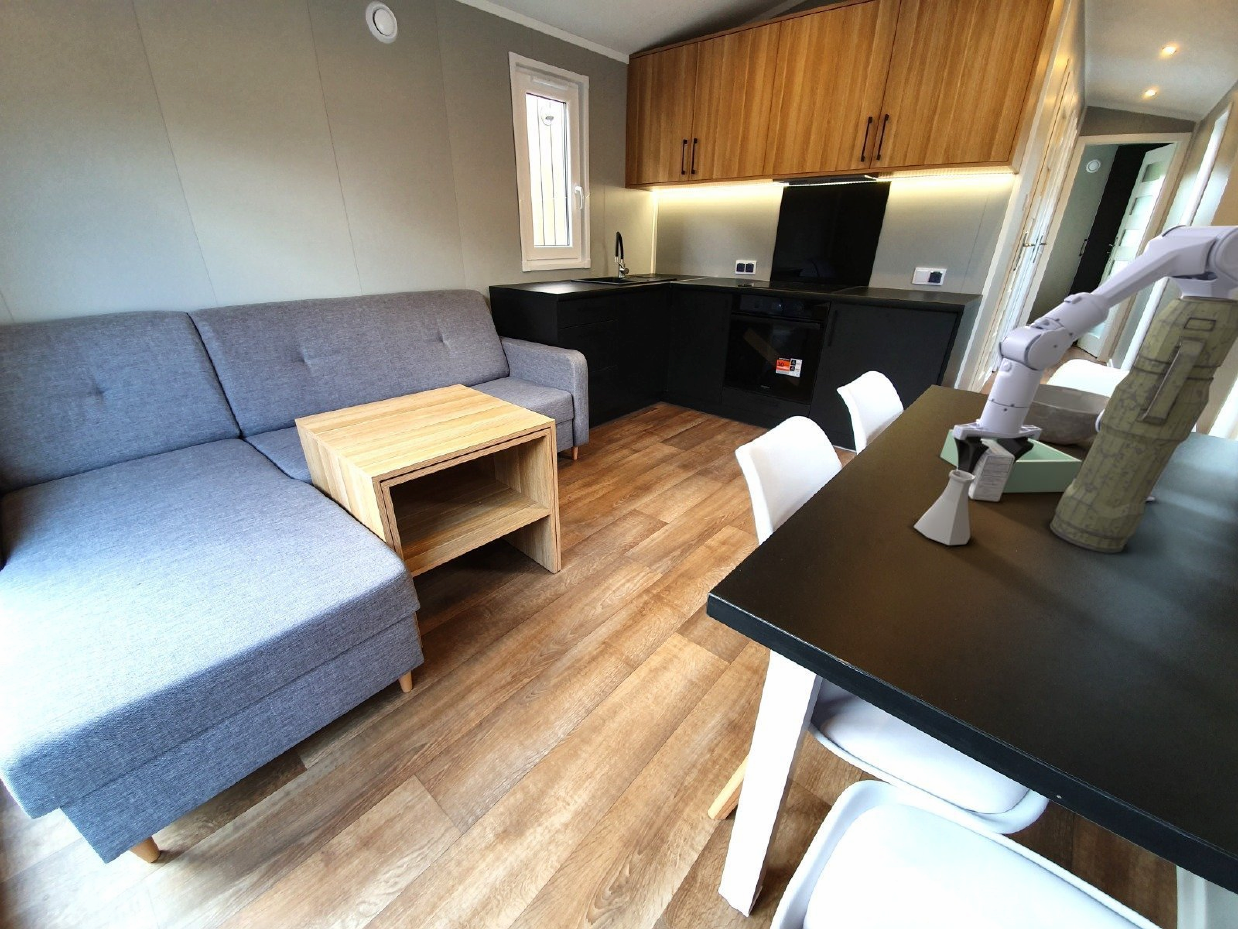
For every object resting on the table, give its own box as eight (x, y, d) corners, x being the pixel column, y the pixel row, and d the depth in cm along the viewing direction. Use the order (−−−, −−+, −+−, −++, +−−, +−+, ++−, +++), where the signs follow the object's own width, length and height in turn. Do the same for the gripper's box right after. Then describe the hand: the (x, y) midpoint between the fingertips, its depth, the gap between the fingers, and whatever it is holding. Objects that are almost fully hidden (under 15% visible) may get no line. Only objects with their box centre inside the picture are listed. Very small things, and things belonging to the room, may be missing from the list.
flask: (950, 551, 70) (974, 490, 66) (904, 526, 76) (923, 468, 72) (979, 539, 73) (1004, 480, 69) (932, 516, 79) (952, 460, 75)
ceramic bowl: (987, 414, 128) (1001, 377, 124) (1103, 435, 116) (1123, 395, 112) (984, 439, 112) (1000, 397, 107) (1119, 466, 100) (1143, 420, 96)
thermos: (1051, 543, 73) (1172, 298, 58) (1046, 511, 82) (1150, 291, 67) (1131, 566, 68) (1285, 306, 53) (1117, 529, 77) (1246, 297, 62)
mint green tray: (1000, 456, 103) (1010, 429, 100) (1068, 491, 89) (1082, 461, 86) (940, 456, 102) (949, 429, 99) (999, 492, 88) (1012, 462, 85)
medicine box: (999, 502, 84) (1017, 457, 80) (970, 499, 85) (987, 454, 81) (978, 482, 91) (994, 439, 87) (951, 479, 92) (966, 437, 88)
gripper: (1028, 395, 85) (999, 465, 91) (950, 394, 84) (926, 466, 89) (1065, 408, 79) (1031, 483, 85) (982, 408, 77) (953, 484, 83)
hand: (979, 475), depth 87 cm, fingers closed on medicine box, 6 cm apart
